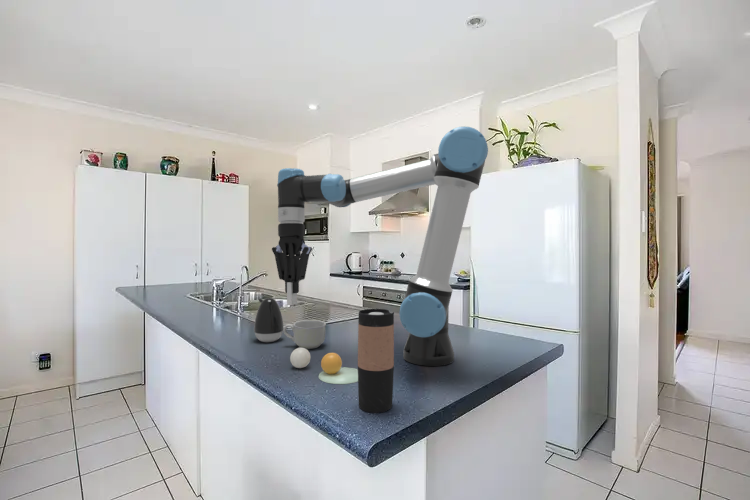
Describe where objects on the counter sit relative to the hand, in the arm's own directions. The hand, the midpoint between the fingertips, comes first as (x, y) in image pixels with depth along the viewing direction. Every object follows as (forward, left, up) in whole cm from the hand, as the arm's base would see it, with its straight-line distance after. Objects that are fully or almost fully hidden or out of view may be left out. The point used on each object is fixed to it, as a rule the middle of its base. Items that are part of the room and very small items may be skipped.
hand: (292, 304), depth 108 cm
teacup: (+7, -15, -17) cm, 24 cm away
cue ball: (-6, +3, -14) cm, 15 cm away
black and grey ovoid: (+23, -15, -17) cm, 32 cm away
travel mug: (-35, +15, -17) cm, 42 cm away
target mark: (-19, +3, -17) cm, 26 cm away
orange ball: (-16, +3, -14) cm, 21 cm away
